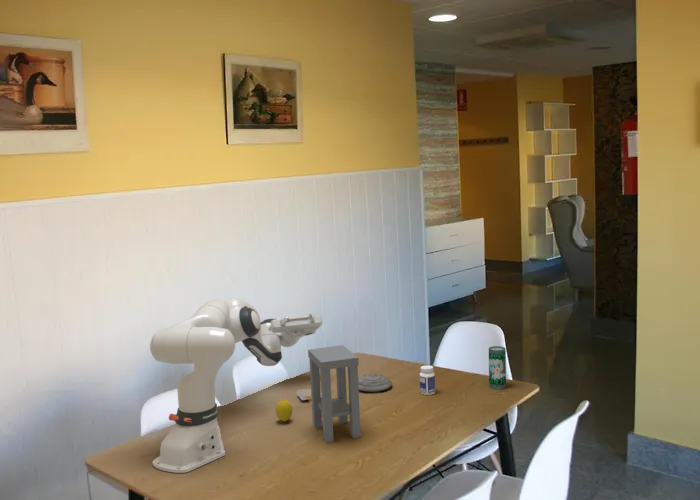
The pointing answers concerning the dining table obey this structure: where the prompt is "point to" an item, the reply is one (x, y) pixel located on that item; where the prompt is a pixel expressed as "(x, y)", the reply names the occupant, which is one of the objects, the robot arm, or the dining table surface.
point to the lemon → (284, 410)
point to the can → (497, 367)
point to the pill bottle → (427, 380)
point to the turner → (305, 395)
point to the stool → (338, 406)
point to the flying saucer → (373, 383)
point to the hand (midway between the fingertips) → (299, 317)
